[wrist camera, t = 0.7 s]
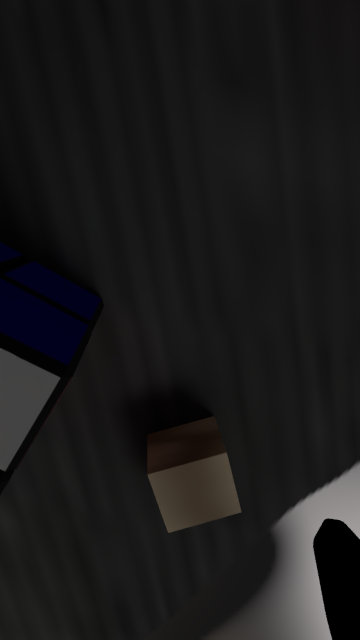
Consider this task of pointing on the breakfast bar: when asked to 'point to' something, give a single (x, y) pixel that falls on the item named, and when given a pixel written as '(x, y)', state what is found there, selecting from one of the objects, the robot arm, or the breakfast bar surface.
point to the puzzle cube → (36, 348)
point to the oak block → (191, 474)
